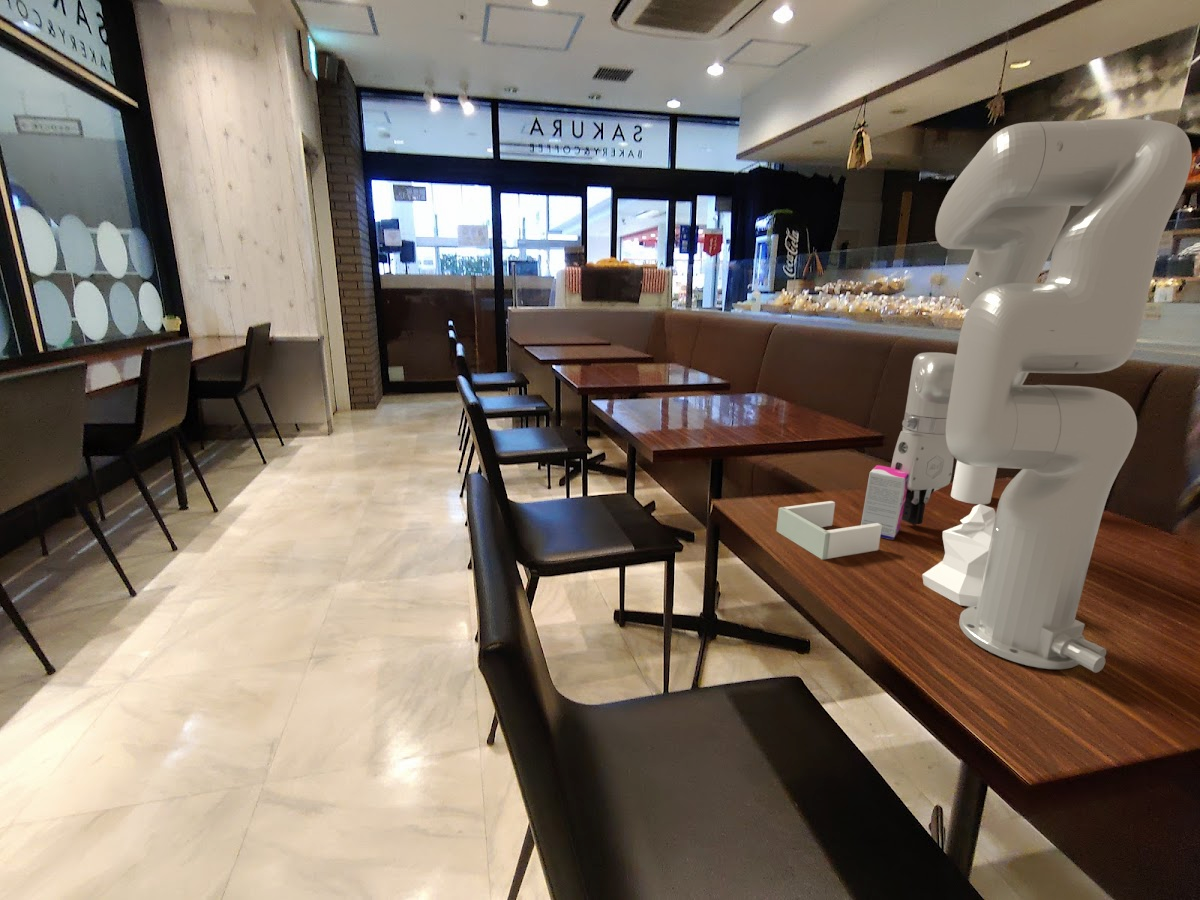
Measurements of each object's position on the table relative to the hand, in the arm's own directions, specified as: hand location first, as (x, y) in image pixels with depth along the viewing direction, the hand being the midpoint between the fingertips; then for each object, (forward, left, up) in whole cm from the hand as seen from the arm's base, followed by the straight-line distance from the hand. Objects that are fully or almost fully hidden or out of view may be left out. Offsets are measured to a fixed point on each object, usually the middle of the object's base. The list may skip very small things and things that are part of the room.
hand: (911, 521), depth 106 cm
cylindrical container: (+8, -25, -1) cm, 26 cm away
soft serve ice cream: (-22, +11, -1) cm, 25 cm away
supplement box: (0, +7, -1) cm, 7 cm away
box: (0, +19, -1) cm, 19 cm away
